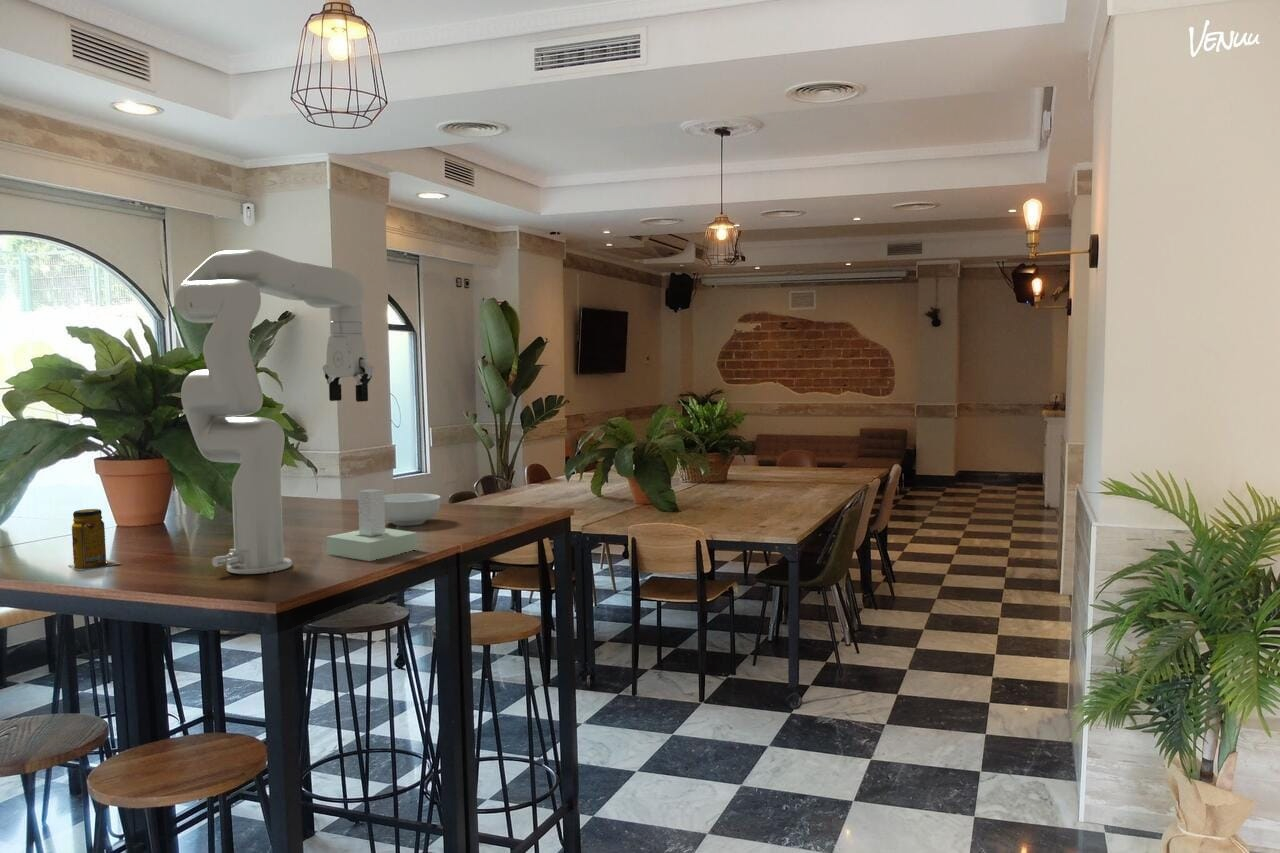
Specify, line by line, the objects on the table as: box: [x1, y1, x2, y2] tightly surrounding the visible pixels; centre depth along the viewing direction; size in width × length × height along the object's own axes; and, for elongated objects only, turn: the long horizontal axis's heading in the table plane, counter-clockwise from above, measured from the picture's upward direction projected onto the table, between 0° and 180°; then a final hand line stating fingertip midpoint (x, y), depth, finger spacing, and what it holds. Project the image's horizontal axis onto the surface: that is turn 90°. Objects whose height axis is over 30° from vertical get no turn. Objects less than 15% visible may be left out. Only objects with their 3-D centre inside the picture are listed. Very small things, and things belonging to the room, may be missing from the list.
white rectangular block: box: [357, 488, 386, 538], centre depth 216 cm, size 4×4×14 cm
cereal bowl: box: [384, 492, 442, 526], centre depth 254 cm, size 17×17×7 cm
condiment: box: [68, 508, 122, 571], centre depth 204 cm, size 7×8×12 cm
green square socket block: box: [326, 527, 419, 562], centre depth 216 cm, size 14×14×4 cm
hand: (348, 401), depth 233 cm, fingers open, 9 cm apart
